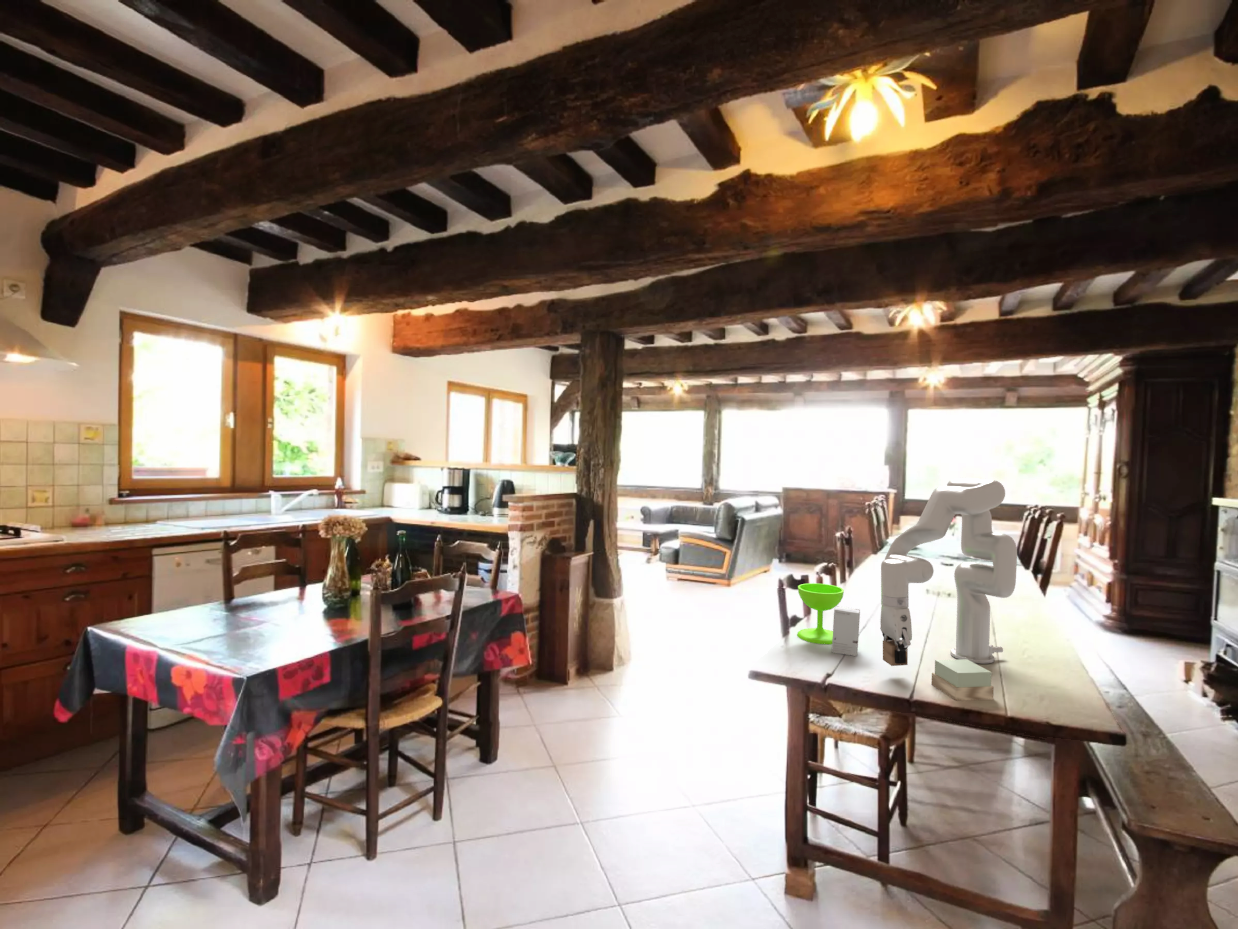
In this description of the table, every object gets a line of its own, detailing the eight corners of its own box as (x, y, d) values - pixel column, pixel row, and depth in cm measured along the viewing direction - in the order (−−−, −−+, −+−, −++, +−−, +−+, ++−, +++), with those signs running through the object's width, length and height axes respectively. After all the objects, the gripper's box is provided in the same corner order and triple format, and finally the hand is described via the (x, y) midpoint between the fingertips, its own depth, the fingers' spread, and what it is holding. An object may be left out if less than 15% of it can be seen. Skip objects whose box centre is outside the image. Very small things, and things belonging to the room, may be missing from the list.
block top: (966, 672, 176) (967, 659, 176) (991, 686, 166) (991, 672, 166) (934, 673, 175) (935, 660, 175) (957, 687, 165) (957, 673, 165)
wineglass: (832, 630, 227) (833, 583, 226) (850, 644, 211) (851, 593, 210) (791, 630, 226) (791, 583, 226) (805, 644, 210) (806, 593, 210)
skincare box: (831, 653, 202) (832, 609, 201) (833, 647, 207) (834, 605, 207) (858, 656, 198) (859, 612, 198) (859, 651, 204) (860, 608, 203)
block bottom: (966, 685, 177) (967, 671, 177) (993, 701, 166) (993, 686, 166) (931, 686, 176) (931, 672, 176) (955, 702, 165) (956, 688, 165)
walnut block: (898, 658, 184) (898, 639, 184) (907, 665, 179) (907, 645, 179) (882, 659, 184) (882, 640, 184) (891, 666, 179) (891, 646, 179)
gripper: (923, 608, 173) (923, 669, 174) (891, 592, 190) (891, 649, 190) (898, 609, 172) (899, 671, 173) (868, 593, 189) (868, 650, 190)
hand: (895, 659), depth 182 cm, fingers closed on walnut block, 5 cm apart
